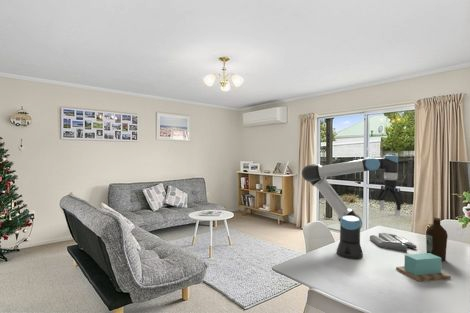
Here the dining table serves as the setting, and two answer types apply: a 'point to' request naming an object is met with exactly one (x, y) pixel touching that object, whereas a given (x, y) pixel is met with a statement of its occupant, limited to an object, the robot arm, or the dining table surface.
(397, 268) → the seat
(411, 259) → the teal rectangular block
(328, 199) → the robot arm
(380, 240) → the emblem
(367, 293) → the dining table surface
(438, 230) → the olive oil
